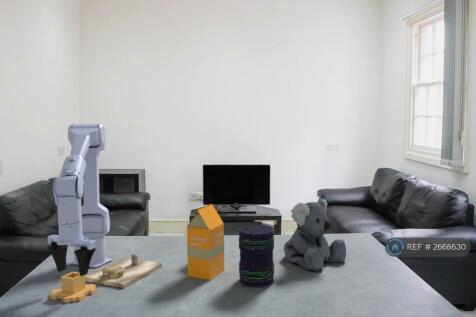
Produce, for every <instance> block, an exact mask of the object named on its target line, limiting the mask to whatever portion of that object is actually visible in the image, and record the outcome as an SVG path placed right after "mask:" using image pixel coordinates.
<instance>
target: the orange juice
mask: <svg viewBox="0 0 476 317" xmlns="http://www.w3.org/2000/svg"><path fill="white" fill-rule="evenodd" d="M224 223H225V222H223V220H222V218H221V216H220V215H219V213H218V211H217V210H216V209H215V206H214V205H213V204H212V203H210V204H208V205H206V206H203V207H200V208H199V209H197V210H196V212H195V214H194V215H193V216H192V218H191V219H190V221H189V223H188V225H187V226H186V244H187V248H186V249H187V250H186V251H187V252H186V255H187V256H186V257H187V277H189V278H190V277H191V278H196V279H202V280H208V281H211V280H213V279H214V278H216V277H217V276H218V275H220V274H221V273H223V272H224V271H225V224H224Z"/></svg>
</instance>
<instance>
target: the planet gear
mask: <svg viewBox="0 0 476 317" xmlns="http://www.w3.org/2000/svg"><path fill="white" fill-rule="evenodd" d="M85 276H86V275H84V276H80V274H79V271H71V272H69V273H65V274H64V275H61V277H60V284H61V285H60V286H61V288H59V289H57V288H55V289H52V290H51V291H50V297H49V298H50V300H52V301H53V300H54V301H56V300H59V299H60V300H63V301H62V302H63V303H67V304H69V303H71V302H73V303H75V302H76V301H77V302H81V301H83V300H85V299H86V298H85V297H87V296H89V295H92V294H93V295H95V294H96V293H98V292H97V291H98V290H97V285H96V284H95V283H94V284H93V283H90V284H86V281H85ZM94 293H95V294H94Z"/></svg>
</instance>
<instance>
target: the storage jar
mask: <svg viewBox="0 0 476 317" xmlns="http://www.w3.org/2000/svg"><path fill="white" fill-rule="evenodd" d="M274 232H275V229H274V227H273V226H270V225H266V224H265V225H264V224H246V225H243V226H240V227H239V229H238V233H239V234H238V249H239V261H238V262H239V263H238V272H239V274H238V275H239V284H240V285H242V286H244V287H248V288H252V289H253V288H254V289H255V288H256V289H257V288H258V289H260V288H266V287H271V286H272V285H273V284H274V282H275V279H274V278H275V262H274V249H275V236H274V235H275V234H274Z"/></svg>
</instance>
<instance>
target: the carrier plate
mask: <svg viewBox="0 0 476 317" xmlns="http://www.w3.org/2000/svg"><path fill="white" fill-rule="evenodd" d="M161 268H162V263H161V262H156V261H150V260H149V261H148V260H142V259H139V254H138V253H133V254H131V255H130V257H123V258H121V259H119V260H117V261H115V262H112V263H110V264H108V265H106V266H104V267H102V268H100V269H99V268H98V270H95V271H93V272H91V273H89V274H86V275H85V282H88V283H93V282H94V284H98V285H103V284H104V285H103V286H109V285H111V286H110V287H114V286H115V287H114V288H119V287H121V288H120V289H126V288H127V287H129V286H131V285H132V284H135V283H136V282H138V281H140V280H142V279H144V278H145V277H147V276H149V275H150V274H152V273H154V272H156V271H157V270H159V269H161Z"/></svg>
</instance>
